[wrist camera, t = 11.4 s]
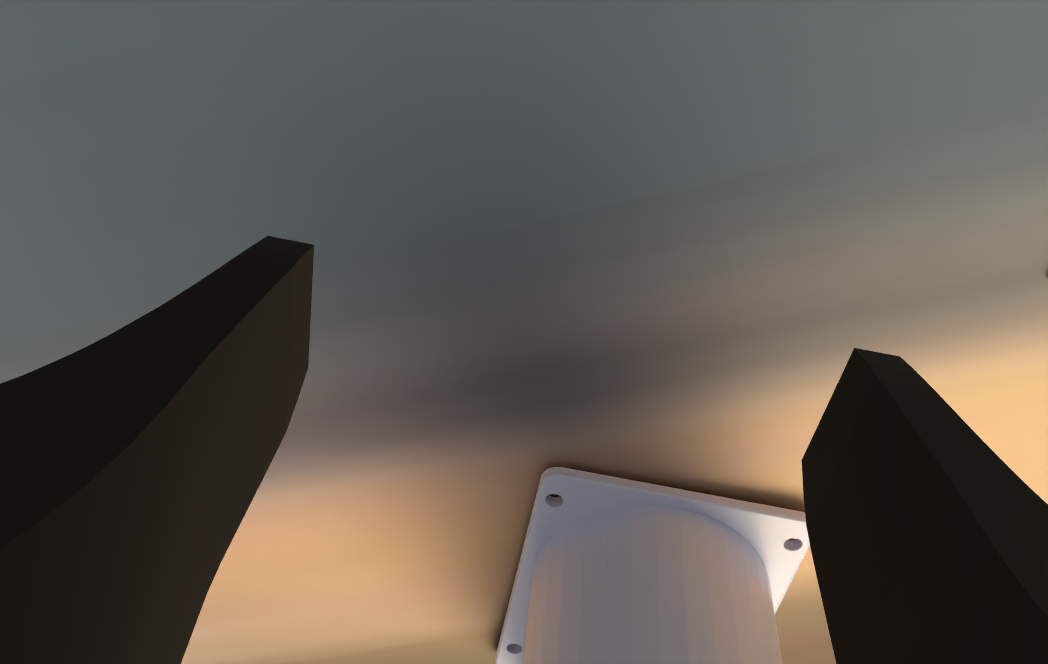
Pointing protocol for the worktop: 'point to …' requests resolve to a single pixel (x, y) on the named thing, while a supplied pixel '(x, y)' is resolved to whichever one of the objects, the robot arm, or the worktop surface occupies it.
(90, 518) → the robot arm
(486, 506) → the worktop surface
